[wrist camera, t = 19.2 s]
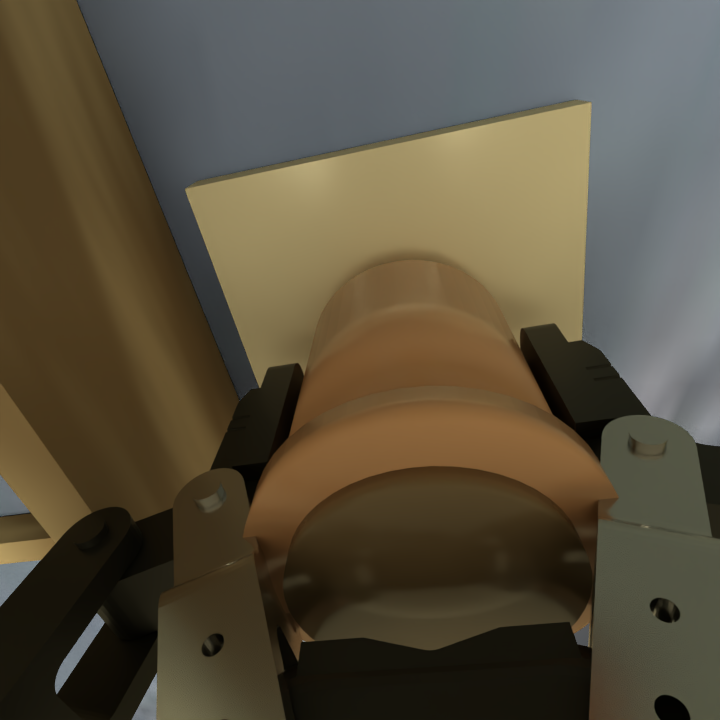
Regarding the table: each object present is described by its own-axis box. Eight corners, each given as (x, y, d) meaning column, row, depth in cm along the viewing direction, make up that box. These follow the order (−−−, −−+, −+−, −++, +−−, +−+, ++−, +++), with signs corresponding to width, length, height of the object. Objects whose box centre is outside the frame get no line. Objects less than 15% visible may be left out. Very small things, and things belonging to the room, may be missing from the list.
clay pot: (330, 446, 15) (295, 704, 9) (275, 271, 12) (169, 478, 6) (523, 421, 14) (628, 685, 8) (515, 226, 11) (673, 413, 5)
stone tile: (294, 451, 18) (290, 470, 17) (197, 181, 13) (184, 188, 12) (567, 416, 17) (577, 434, 16) (576, 99, 12) (591, 102, 11)
